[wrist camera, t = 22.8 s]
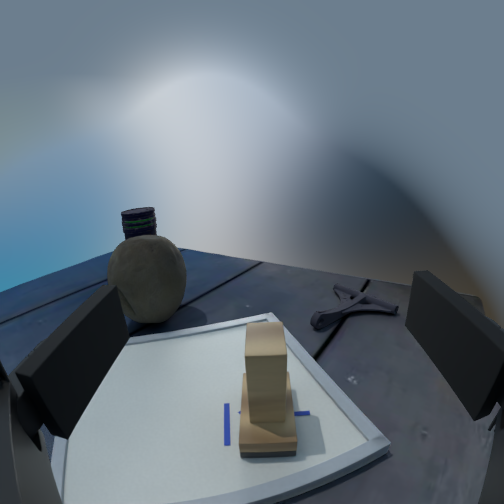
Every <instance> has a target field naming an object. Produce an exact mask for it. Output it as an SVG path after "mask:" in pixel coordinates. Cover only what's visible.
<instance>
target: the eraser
mask: <svg viewBox="0 0 504 504" xmlns="http://www.w3.org/2000/svg"><path fill="white" fill-rule="evenodd" d="M244 357H245V370H246V373H243V382H242V397H241V413H240V428H239V443H238V444H239V451H240V457H241V458H270V457H289V456H296V452H297V443H298V440H297V432H296V424H295V416H294V408H293V400H292V392H291V384H290V376H289V372H287V348H286V341H285V334H284V327H283V322H260V323H247V325H246V340H245V356H244Z"/></svg>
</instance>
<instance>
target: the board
mask: <svg viewBox="0 0 504 504" xmlns="http://www.w3.org/2000/svg"><path fill="white" fill-rule="evenodd" d="M260 322H280V321H279V320H278V319H277V318H276V317H275V315H274V314H273V313H272V312H271V313H266V314H262V315H257V316H252V317H247V318H242V319H237V320H232V321H227V322H222V323H217V324H211V325H206V326H200V327H194V328H189V329H183V330H177V331H171V332H164V333H158V334H151V335H145V336H138V337H131V338H129V340H128V342H127V343H126V345H125V346H124V348H123V349H122V351H121V352H120V354H119V356H118V357H117V359H116V360H115V362H114V363H113V365H112V367H111V368H110V370H109V371H108V373H107V375H106V376H105V378H104V379H103V381H102V383H101V384H100V386H99V388H98V389H97V391H96V393H95V394H94V396H93V398H92V399H91V401H90V403H89V404H88V406H87V408H86V409H85V411H84V413H83V414H82V416H81V418H80V420H79V421H78V423H77V425H76V427H75V428H74V430H73V432H72V434H71V435H70V437H69V439H68V440H67V439H64V438H61V437H58V436H55V440H54V446H53V452H52V459H51V468H52V472H53V475H54V479H55V482H56V485H57V488H58V491H59V494H60V497H61V500H62V503H63V504H274V503H277V502H280V501H283V500H286V499H288V498H291V497H294V496H297V495H299V494H302V493H305V492H307V491H310V490H312V489H315V488H317V487H320V486H322V485H324V484H327V483H329V482H331V481H333V480H336V479H338V478H340V477H342V476H344V475H346V474H348V473H350V472H352V471H354V470H356V469H358V468H360V467H362V466H364V465H366V464H368V463H370V462H372V461H373V460H375V459H377V458H379V457H381V456H382V455H384V454H386V453H387V451H388V449H389V447H390V444H391V442H390V441H389V440H388V439H387V438H386V437H385V436H384V435H383V434H382V433H381V432H380V431H379V430H378V429H377V428H376V426H375V425H374V424H373V423H372V422H371V421H370V420H369V419H368V418H367V417H366V416H365V415H364V414H363V413H362V412H361V410H360V409H359V408H358V407H357V406H356V405H355V404H354V403H353V402H352V401H351V400H350V399H349V398H348V396H347V395H346V394H345V393H344V392H343V391H342V390H341V389H340V388H339V387H338V386H337V385H336V383H335V382H334V381H333V380H332V379H331V378H330V377H329V376H328V375H327V374H326V372H325V371H324V370H323V369H322V368H321V367H320V366H319V365H318V364H317V363H316V361H315V360H314V359H313V358H312V357H311V356H310V355H309V354H308V353H307V351H306V350H305V349H304V348H303V347H302V346H301V345H300V344H299V342H298V341H297V340H296V339H295V338H294V337H293V336H292V335H291V334H290V332H289V331H288V330H287V329H286V328H285V327H284V326H283V327H284V334H285V341H286V348H287V372H289V376H290V384H291V392H292V400H293V408H294V416H295V424H296V432H297V440H298V443H297V452H296V456H289V457H270V458H241V457H240V451H239V444H238V443H239V428H240V413H241V397H242V382H243V373H246V370H245V357H244V356H245V340H246V325H247V323H260Z"/></svg>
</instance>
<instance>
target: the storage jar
mask: <svg viewBox="0 0 504 504" xmlns="http://www.w3.org/2000/svg"><path fill="white" fill-rule="evenodd" d="M154 211H155V209H154V208H153V207H145V208H136V209H131V210H127V211H123V212H121V216H122V226H123V232H124V233H125V240H127V239H129V238H132V237H136V236H142V235H156V236H157V234H156V227H157V226H156V225H157V224H156V217H155V213H154Z"/></svg>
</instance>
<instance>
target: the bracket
mask: <svg viewBox="0 0 504 504" xmlns="http://www.w3.org/2000/svg"><path fill="white" fill-rule="evenodd" d="M333 290H334V291H335V292H336V293H337V294H338V295H339V297H340V300H341V302H340V304H339V306H338V307H337V308H334V309H330V310H324V311H316V312H315V313H314V314H313V316H312V318H311V322H310V323H311V325H312V326H313V327H315V328H317V329H321V328H323V327H325V326H327V325H329V324H331V323H332V322H334V321H336V320H338V319H340V318H341V317H343V316H345V315H347V314H349V313H350V312H355V311H381V312H388V313H392V314H396V313H397V311H398V306H397V305H395V304H392V303H389V302H387V301H384V300H381V299H379V298H376V297H373V296H370V295H368V294H365V293H362V292H359V291H357V290H354V289H351V288H349V287H346V286H343V285H340V284H338V283H336V284H335V285H334V288H333ZM350 298H354V299H353V300H351V299H350ZM364 304H369V305H364Z"/></svg>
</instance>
